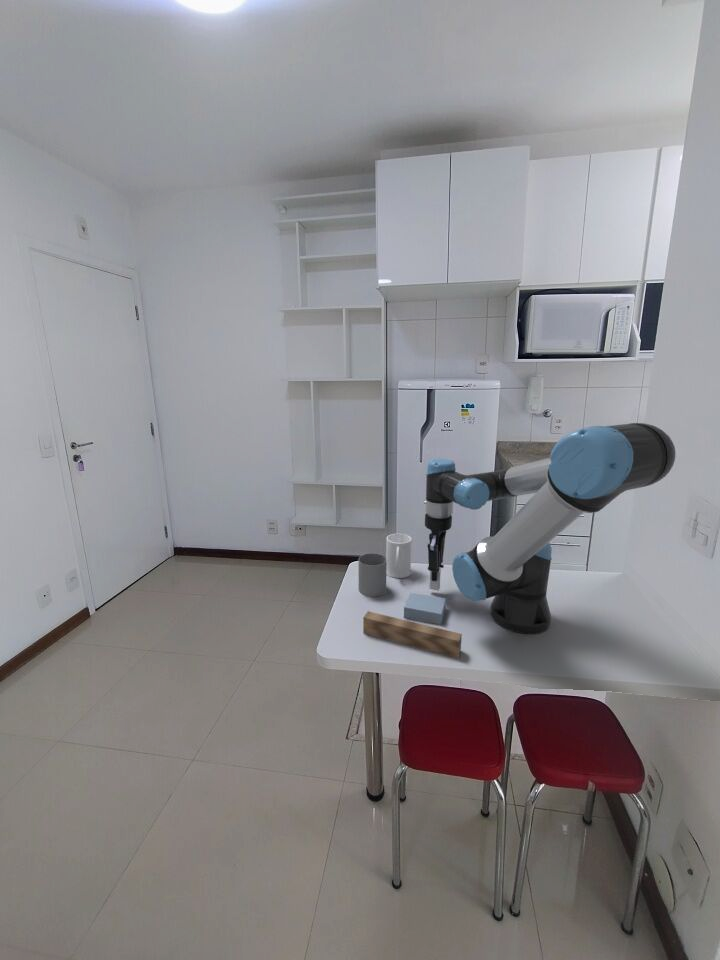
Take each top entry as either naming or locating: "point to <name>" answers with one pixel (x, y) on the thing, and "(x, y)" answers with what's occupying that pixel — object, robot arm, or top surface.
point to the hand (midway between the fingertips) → (434, 588)
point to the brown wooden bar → (412, 634)
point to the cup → (372, 574)
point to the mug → (398, 555)
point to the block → (425, 608)
